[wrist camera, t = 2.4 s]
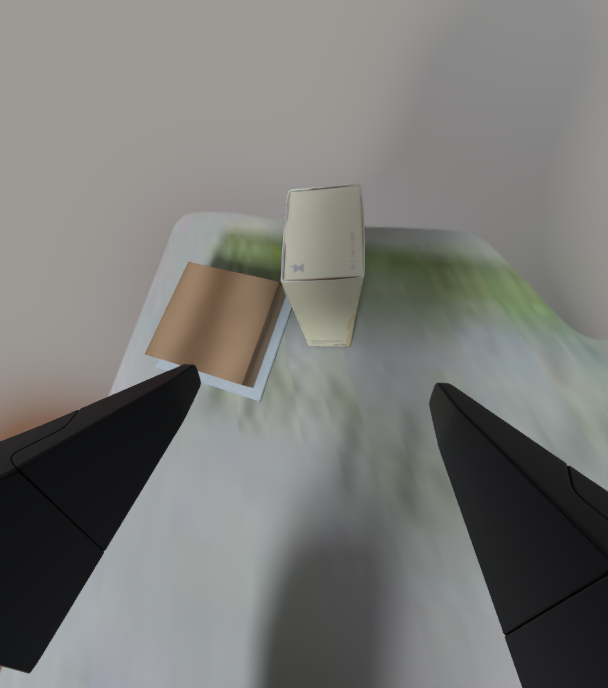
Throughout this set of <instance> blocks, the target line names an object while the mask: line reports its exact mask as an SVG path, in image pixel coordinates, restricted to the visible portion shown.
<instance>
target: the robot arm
mask: <svg viewBox="0 0 608 688" xmlns="http://www.w3.org/2000/svg"><path fill="white" fill-rule="evenodd" d="M200 385H201V380H200V376H199V373H198V370H197V367H196V366H195V365H194V364H183V365H181V366H178V367H176V368H174V369H171V370H169V371H167V372H164V373H162V374H160V375H157V376H155V377H153V378H150V379H148V380H146V381H144V382H141V383H139V384H137V385H134V386H132V387H130V388H127V389H125V390H123V391H120V392H118V393H116V394H113V395H111V396H109V397H107V398H104V399H102V400H100V401H97V402H95V403H93V404H90V405H88V406H86V407H83V408H81V409H80V410H76V411H74V412H72V413H69V414H67V415H65V416H62V417H60V418H58V419H55V420H53V421H51V422H48V423H46V424H43V425H41V426H38V427H36V428H34V429H31V430H28V431H26V432H23V433H21V434H18V435H16V436H13V437H11V438H8V439H6V440H3V441H0V666H3V667H6V668H10V669H14V670H17V671H21V672H25V673H28V674H29V673H30V672H31V671H32V670H33V668H34V667H35V665H36V664H37V663H38V661H39V659H40V658H41V656H42V655H43V653H44V651H45V650H46V648H47V646H48V645H49V643H50V641H51V640H52V638H53V636H54V635H55V633H56V631H57V630H58V628H59V627H60V625H61V623H62V622H63V620H64V618H65V617H66V615H67V613H68V612H69V610H70V608H71V607H72V605H73V603H74V602H75V600H76V598H77V597H78V595H79V593H80V592H81V590H82V588H83V587H84V585H85V583H86V582H87V580H88V579H89V577H90V575H91V574H92V572H93V570H94V569H95V567H96V565H97V564H98V562H99V560H100V559H101V557H102V555H103V554H104V551H105V550H106V548H107V547H108V545H109V544H110V542H111V540H112V539H113V537H114V535H115V534H116V532H117V530H118V529H119V527H120V525H121V524H122V522H123V520H124V519H125V517H126V515H127V514H128V512H129V510H130V509H131V507H132V506H133V504H134V502H135V501H136V499H137V497H138V496H139V494H140V492H141V491H142V489H143V487H144V486H145V484H146V482H147V481H148V479H149V477H150V476H151V474H152V472H153V471H154V469H155V468H156V466H157V464H158V463H159V461H160V459H161V458H162V456H163V454H164V453H165V451H166V449H167V448H168V446H169V444H170V443H171V441H172V439H173V438H174V436H175V434H176V433H177V431H178V430H179V428H180V426H181V425H182V423H183V421H184V419H185V417H186V415H187V413H188V411H189V409H190V407H191V405H192V403H193V401H194V399H195V397H196V394H197V392H198V390H199V388H200ZM429 406H430V411H431V415H432V420H433V424H434V429H435V433H436V438H437V442H438V446H439V450H440V453H441V456H442V459H443V461H444V464H445V467H446V470H447V473H448V476H449V479H450V481H451V484H452V487H453V490H454V493H455V496H456V499H457V501H458V504H459V507H460V510H461V513H462V516H463V519H464V521H465V524H466V527H467V530H468V533H469V536H470V539H471V542H472V544H473V547H474V550H475V553H476V556H477V559H478V562H479V564H480V567H481V570H482V573H483V576H484V579H485V582H486V584H487V587H488V590H489V593H490V596H491V599H492V602H493V604H494V607H495V610H496V613H497V616H498V619H499V622H500V624H501V627H502V630H503V633H504V635H506V636H505V639H506V642H507V645H508V648H509V651H510V654H511V657H512V659H513V662H514V665H515V668H516V671H517V674H518V677H519V680H520V682H521V685H522V688H608V491H606V490H605V489H603V488H602V487H600V486H599V485H597V484H596V483H594V482H593V481H591V480H590V479H588V478H587V477H586V476H584V475H583V474H581V473H580V472H578V471H577V470H575V469H574V468H572V467H571V466H567V464H566V463H565V462H564V461H562V460H561V459H559V458H558V457H556V456H555V455H553V454H552V453H550V452H549V451H548V450H546V449H545V448H543V447H542V446H540V445H539V444H537V443H536V442H534V441H533V440H531V439H530V438H529V437H527V436H526V435H524V434H523V433H521V432H520V431H518V430H517V429H515V428H514V427H512V426H511V425H510V424H508V423H507V422H505V421H504V420H502V419H501V418H499V417H498V416H496V415H495V414H494V413H492V412H491V411H489V410H488V409H486V408H485V407H483V406H482V405H480V404H479V403H477V402H476V401H475V400H473V399H472V398H470V397H469V396H467V395H466V394H464V393H463V392H461V391H460V390H458V389H457V388H456V387H454V386H453V385H451V384H449V383H436V384H435V386H434V389H433V392H432V395H431V398H430V402H429Z"/></svg>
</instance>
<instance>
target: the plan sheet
mask: <svg viewBox="0 0 608 688" xmlns="http://www.w3.org/2000/svg"><path fill="white" fill-rule="evenodd" d="M282 289H283V292H284V294H285V296H286V297H285V300H284V302H283V305H282V308H281V311H280V314H279V317H278V319H277V322H276V325H275V328H274V331H273V334H272V337H271V339H270V342H269V345H268V348H267V351H266V354H265V356H264V359H263V362H262V365H261V368H260V371H259V373H258V376H257V379H256V382H255V385H254V388H251V387H247V386H243V385H240V384H237V383H233V382H230V381H227V380H224V379H221V378H218V377H215V376H212V375H209V374H206V373H202V372H199V371H198V373H199V376H200V380H201V382H202V383H205V384H208V385H211V386H214V387H217V388H220V389H223V390H226V391H229V392H232V393H235V394H238V395H241V396H244V397H247V398H250V399H253V400H256V401H261V398H262V395H263V392H264V389H265V386H266V383H267V380H268V377H269V374H270V371H271V368H272V365H273V363H274V360H275V357H276V354H277V351H278V348H279V345H280V342H281V339H282V336H283V333H284V330H285V327H286V324H287V322H288V319H289V316H290V313H291V310H292V306H291V304H290V301H289V299H288V297H287V295H286V292H285V290H284V288H283V287H282ZM178 366H181V365H178V364H175V363H171V362H168V361H165V360H162V359H158V361H157V363H156V365H155V367H157V368H160V369H163V370H166V371H169V370H171V369H174V368H176V367H178Z"/></svg>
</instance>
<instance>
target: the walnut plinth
mask: <svg viewBox="0 0 608 688" xmlns="http://www.w3.org/2000/svg"><path fill="white" fill-rule="evenodd" d="M285 297H286V296H285V294H284V292H283V289H282V287H281V285H280V282H278V281H273V280H269V279H264V278H259V277H255V276H250V275H246V274H241V273H237V272H232V271H228V270H223V269H219V268H214V267H210V266H205V265H200V264H196V263H191V262H188V264H187V266H186V268H185V270H184V272H183V274H182V276H181V278H180V281H179V283H178V285H177V287H176V289H175V291H174V293H173V295H172V297H171V300H170V302H169V304H168V306H167V308H166V310H165V312H164V314H163V316H162V319H161V321H160V323H159V325H158V327H157V329H156V331H155V333H154V335H153V338H152V340H151V342H150V344H149V346H148V348H147V350H146V352H145V354H147V355H150V356H153V357H156V358H159V359H162V360H165V361H168V362H171V363H175V364H178V365H183V364H194V365H195V366H196V367H197V370H198V371H199V372H202V373H206V374H209V375H212V376H215V377H218V378H221V379H224V380H227V381H230V382H233V383H237V384H240V385H243V386H247V387H251V388H254V385H255V382H256V379H257V376H258V373H259V371H260V368H261V365H262V362H263V359H264V356H265V354H266V351H267V348H268V345H269V342H270V339H271V337H272V334H273V331H274V328H275V325H276V322H277V319H278V317H279V314H280V311H281V308H282V305H283V302H284V300H285Z"/></svg>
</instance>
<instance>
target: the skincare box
mask: <svg viewBox="0 0 608 688" xmlns="http://www.w3.org/2000/svg"><path fill="white" fill-rule="evenodd" d="M364 272H365V233H364V212H363V195H362V186H361V185H345V186H330V187H315V188H304V189H292V190H289V191H288V195H287V204H286V213H285V222H284V233H283V248H282V265H281V283H282V285H283V288H284V290H285V292H286V295H287V297H288V299H289V301H290V304H291V306H292V309H293V311H294V313H295V316H296V318H297V320H298V323H299V325H300V327H301V330H302V332H303V334H304V337H305V339H306V341H307V344H308V345H309V346H350V345H351V341H352V335H353V329H354V324H355V318H356V313H357V308H358V303H359V298H360V293H361V288H362V284H363V279H364Z"/></svg>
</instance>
